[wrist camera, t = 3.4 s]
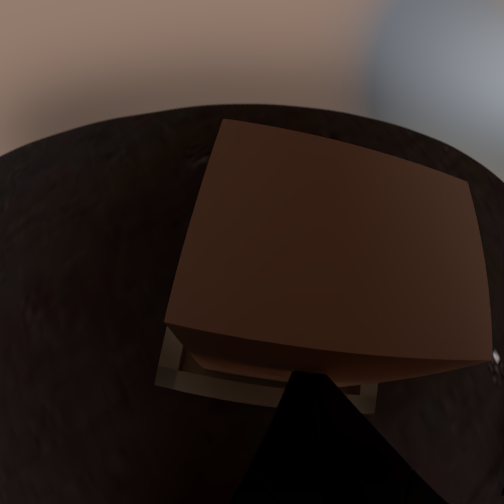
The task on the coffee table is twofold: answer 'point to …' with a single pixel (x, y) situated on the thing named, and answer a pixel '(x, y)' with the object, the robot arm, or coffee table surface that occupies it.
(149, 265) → the coffee table surface
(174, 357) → the box
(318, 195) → the terracotta block
